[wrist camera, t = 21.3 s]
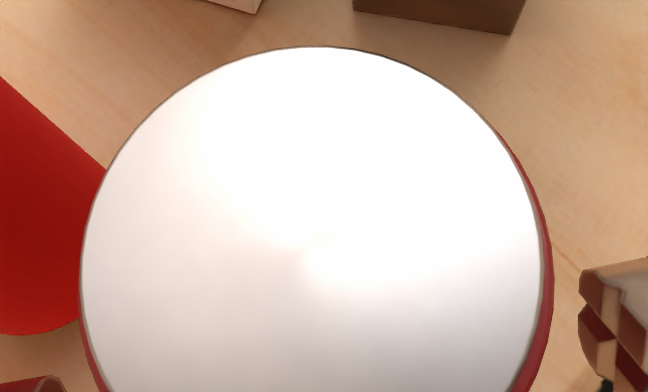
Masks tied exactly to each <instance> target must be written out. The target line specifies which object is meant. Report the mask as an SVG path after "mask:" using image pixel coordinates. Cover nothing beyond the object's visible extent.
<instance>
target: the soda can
mask: <svg viewBox="0 0 648 392" xmlns="http://www.w3.org/2000/svg"><path fill="white" fill-rule="evenodd" d="M554 279H555V278H554V267H553V257H552V247H551V242H550V238H549V234H548V230H547V225H546V221H545V217H544V214H543V211H542V209H541V206H540V203H539V201H538V198H537V196H536V193H535V190H534V188H533V186H532V184H531V182H530V180H529V178H528V177H527V175H526V173H525V171H524V169H523V167H522V165H521V163H520V162H519V160H518V159H517V157H516V156H515V154H514V153H513V152H512V150H511V149H510V147H509V146H508V145H507V143H506V142H505V140H504V139H503V138H502V136H501V135H500V134H499V133H498V132H497V131H496V130H495V129H494V128H493V127H492V126H491V124H490V123H489V122H488V121H487V120H486V119H485V118H484V117H483V116H482V115H481V114H480V113H479V112H478V111H477V110H476V109H475V108H474V107H473V106H471V105H470V104H469V103H468V102H467V101H465V100H464V99H463V98H462V97H461V96H460V95H458V94H457V93H456V92H455V91H454V90H452V89H450V88H449V87H447V86H446V85H444V84H443V83H441V82H440V81H438V80H437V79H435V78H434V77H432V76H431V75H429V74H427V73H424V72H422V71H420V70H418V69H416V68H414V67H412V66H410V65H408V64H406V63H403V62H401V61H398V60H395V59H392V58H389V57H387V56H384V55H381V54H376V53H372V52H368V51H363V50H359V49H355V48H345V47H336V46H295V47H287V48H278V49H272V50H268V51H264V52H259V53H255V54H251V55H247V56H244V57H242V58H239V59H236V60H233V61H231V62H228V63H225V64H222V65H220V66H218V67H216V68H214V69H212V70H210V71H208V72H206V73H204V74H202V75H200V76H198V77H197V78H195V79H194V80H192V81H190V82H189V83H187V84H186V85H184V86H183V87H181V88H180V89H178V90H177V91H175V92H174V93H173V94H171V95H170V96H169V97H168V98H167V99H165V100H164V101H163V102H162V103H160V104H159V105H158V106H157V107H156V108H154V109H153V110H152V111H151V112H150V114H149V115H148V116H147V117H146V118H145V119H144V120H143V121H142V122H141V123H140V124H139V125H138V126H137V127H136V128H135V129H134V131H133V132H132V133H131V134H130V136H129V137H128V138H127V140H126V141H125V142H124V144H123V145H122V146H121V148H120V149H119V150H118V152H117V154H116V155H115V157H114V159H113V160H112V162H111V164H110V166H109V167H108V169H107V171H106V172H105V174H104V176H103V178H102V181H101V183H100V185H99V188H98V190H97V192H96V195H95V197H94V199H93V202H92V205H91V208H90V212H89V215H88V219H87V222H86V226H85V229H84V235H83V241H82V247H81V253H80V260H79V266H78V287H77V303H78V313H79V322H80V332H81V336H82V340H83V344H84V348H85V352H86V356H87V361H88V364H89V366H90V369H91V372H92V374H93V377H94V379H95V382H96V384H97V387H98V389H99V392H529V390H530V388H531V386H532V384H533V382H534V380H535V378H536V376H537V373H538V370H539V367H540V364H541V361H542V358H543V355H544V352H545V349H546V346H547V343H548V337H549V331H550V326H551V320H552V315H553V305H554Z"/></svg>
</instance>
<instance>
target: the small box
mask: <svg viewBox="0 0 648 392" xmlns="http://www.w3.org/2000/svg"><path fill="white" fill-rule="evenodd" d="M207 1H211V2H214V3H218V4H221V5H224V6H228V7H231V8H235V9H238V10H242V11H245V12H248V13H251V14H255V13H256V11H257V9H258V6H259V4H260V2H261V0H207Z"/></svg>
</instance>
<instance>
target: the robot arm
mask: <svg viewBox="0 0 648 392" xmlns="http://www.w3.org/2000/svg"><path fill="white" fill-rule="evenodd" d="M579 293H580V295H581V296H582V297H583V298H584V299H585V301H586V302H587V304H586V305H585V307H584V308H583V309H582V311H581V312H580V313H579V315H578V334H579V338H580V342H581V346H582V350H583V352H584V354H585V356H586V358H587V360H588V362H589V364H590V365H591V367H592V368H593V370H594V371H595V373H596V374H597V375H598V376H600V377H602V378H604V379H606V380H608V381H610V382H612V383H614V387H613V392H648V256H647V257H646V258H640V259H635V260H630V261H625V262H620V263H615V264H610V265H606V266H601V267H596V268H591V269H586V270H583V271H582V273H581V276H580V278H579ZM0 392H67V391H66V389H65V388H64V386H63V384H62V382H61V380H60V379H59V378H58V377H55V376H52V375H48V376H42V377H36V378H31V379H25V380H19V381H14V382H8V383H2V384H0Z"/></svg>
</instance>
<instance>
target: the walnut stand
mask: <svg viewBox="0 0 648 392" xmlns="http://www.w3.org/2000/svg"><path fill="white" fill-rule="evenodd" d="M526 1H527V0H352V7H353V9H354V10H358V11H364V12H370V13H377V14H383V15H389V16H395V17H402V18H408V19H414V20H420V21H426V22H433V23H439V24H445V25H451V26H458V27H464V28H470V29H476V30H482V31H489V32H495V33H501V34H507V35H511V34H512V33H513V30H514V28H515V26H516V24H517V21H518V19H519V17H520V14H521V12H522V10H523V7H524V5H525V3H526Z"/></svg>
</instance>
